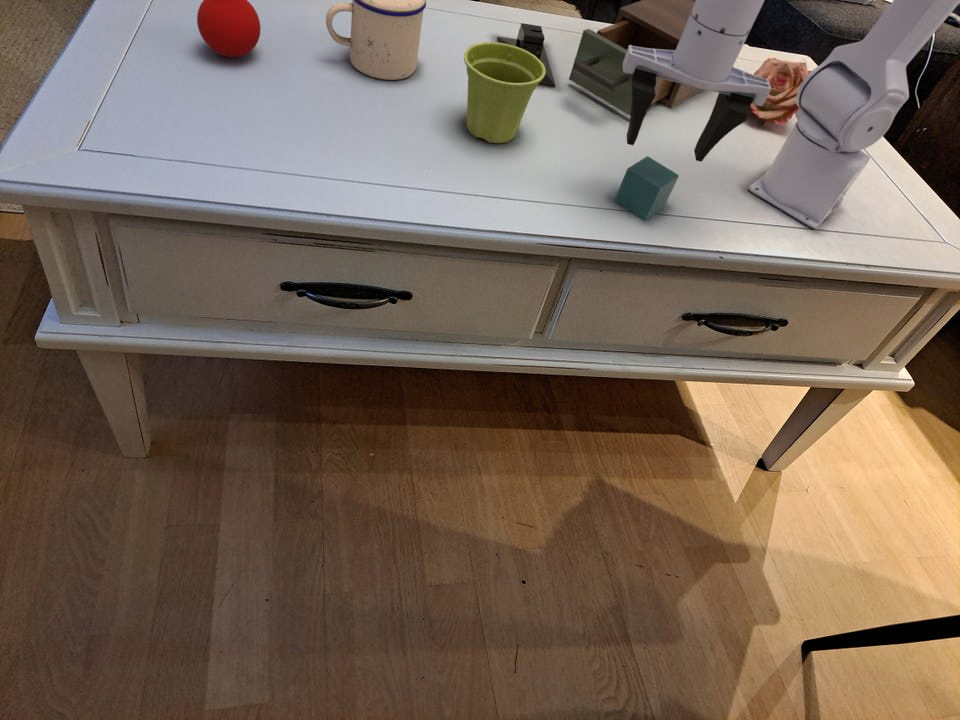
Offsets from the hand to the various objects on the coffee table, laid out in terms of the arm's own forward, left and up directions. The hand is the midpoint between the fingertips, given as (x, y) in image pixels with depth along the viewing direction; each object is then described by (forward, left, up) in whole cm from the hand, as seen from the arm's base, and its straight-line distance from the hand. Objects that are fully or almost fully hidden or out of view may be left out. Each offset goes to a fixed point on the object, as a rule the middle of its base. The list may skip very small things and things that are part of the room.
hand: (664, 148), depth 75 cm
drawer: (+16, -19, -7) cm, 26 cm away
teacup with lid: (+39, +6, -8) cm, 40 cm away
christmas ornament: (+49, +20, -8) cm, 53 cm away
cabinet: (+16, -31, -7) cm, 36 cm away
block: (0, 0, -7) cm, 7 cm away
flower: (0, -35, -8) cm, 36 cm away
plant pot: (+20, +4, -8) cm, 22 cm away
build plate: (+29, -14, -8) cm, 33 cm away
